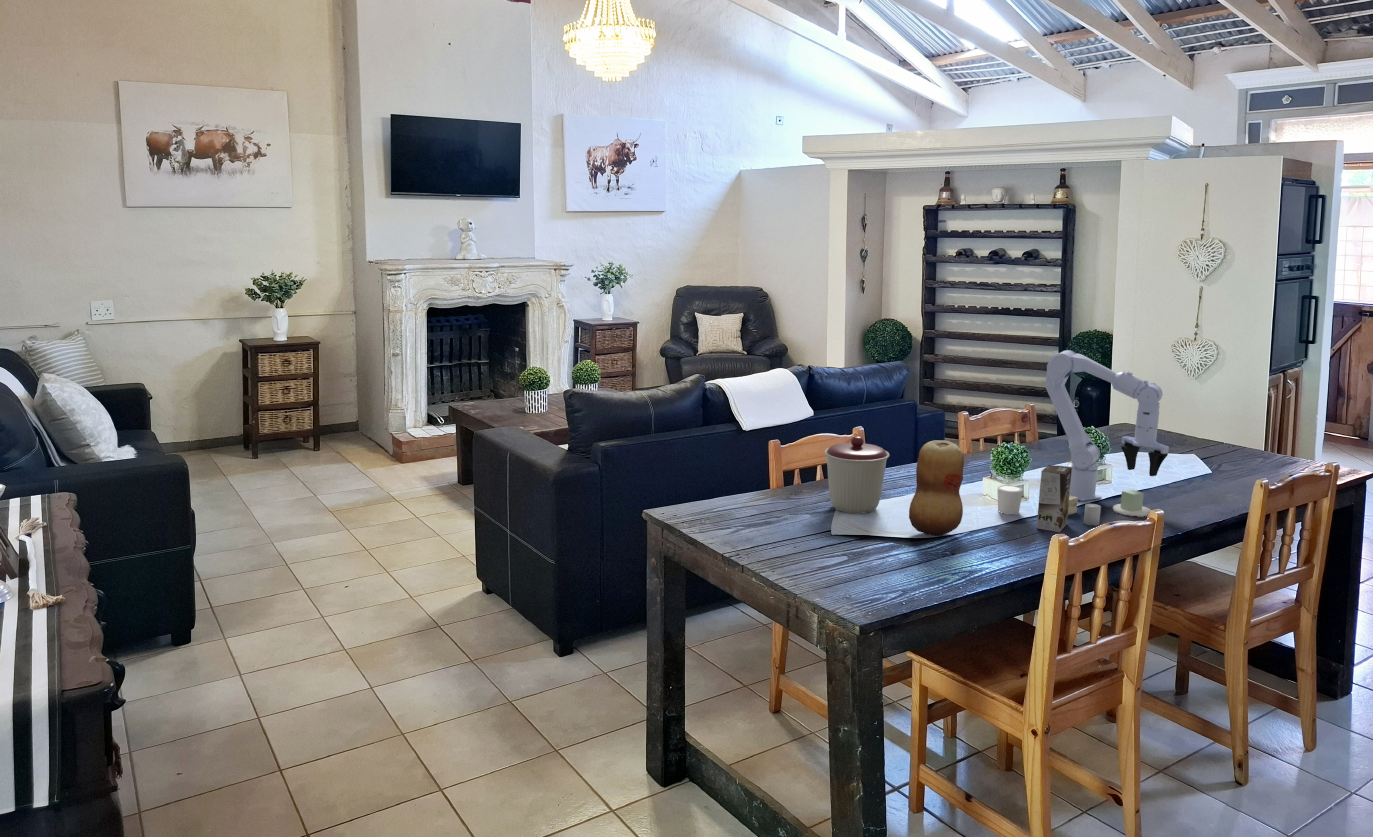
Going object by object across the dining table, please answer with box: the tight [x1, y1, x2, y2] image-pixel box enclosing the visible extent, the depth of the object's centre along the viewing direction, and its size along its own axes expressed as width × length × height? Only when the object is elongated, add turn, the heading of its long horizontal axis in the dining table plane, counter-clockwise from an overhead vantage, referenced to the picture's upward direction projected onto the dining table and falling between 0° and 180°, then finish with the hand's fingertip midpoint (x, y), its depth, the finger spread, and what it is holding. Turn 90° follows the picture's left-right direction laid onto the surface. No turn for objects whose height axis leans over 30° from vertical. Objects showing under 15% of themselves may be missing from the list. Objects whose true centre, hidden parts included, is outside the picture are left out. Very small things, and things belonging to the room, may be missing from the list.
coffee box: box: [1036, 464, 1072, 533], centre depth 273 cm, size 9×6×16 cm
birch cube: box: [1068, 496, 1079, 516], centre depth 287 cm, size 4×4×4 cm
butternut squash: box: [908, 439, 965, 537], centre depth 264 cm, size 14×13×25 cm
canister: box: [824, 435, 890, 514], centre depth 287 cm, size 18×18×21 cm
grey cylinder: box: [1083, 503, 1102, 527], centre depth 277 cm, size 4×4×5 cm
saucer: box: [1112, 503, 1152, 518], centre depth 288 cm, size 10×10×1 cm
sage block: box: [1120, 489, 1145, 512], centre depth 288 cm, size 4×4×5 cm
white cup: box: [997, 484, 1024, 515], centre depth 287 cm, size 7×7×7 cm
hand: (1141, 472), depth 292 cm, fingers open, 7 cm apart
